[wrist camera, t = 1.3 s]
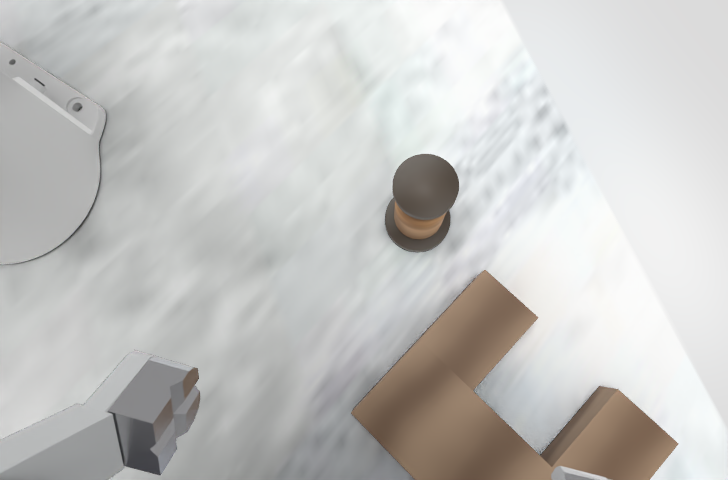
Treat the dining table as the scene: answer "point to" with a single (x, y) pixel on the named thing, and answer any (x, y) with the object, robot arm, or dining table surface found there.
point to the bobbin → (421, 202)
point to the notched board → (478, 421)
